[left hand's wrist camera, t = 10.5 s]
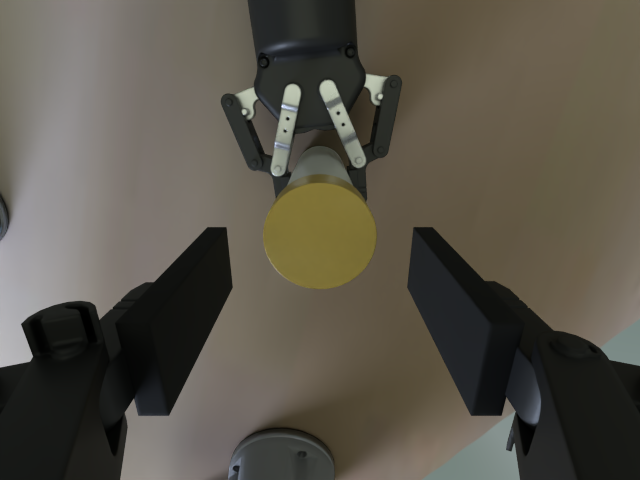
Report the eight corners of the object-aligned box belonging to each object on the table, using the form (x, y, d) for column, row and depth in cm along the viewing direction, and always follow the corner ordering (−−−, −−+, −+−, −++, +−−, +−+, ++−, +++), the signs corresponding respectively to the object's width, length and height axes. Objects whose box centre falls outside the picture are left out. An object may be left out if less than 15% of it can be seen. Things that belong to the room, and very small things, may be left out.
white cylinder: (319, 135, 34) (318, 164, 15) (353, 169, 35) (391, 234, 16) (286, 171, 35) (249, 237, 16) (320, 202, 36) (321, 297, 18)
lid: (317, 151, 17) (317, 157, 15) (390, 222, 18) (400, 237, 16) (249, 225, 18) (239, 241, 16) (321, 287, 20) (321, 308, 17)
